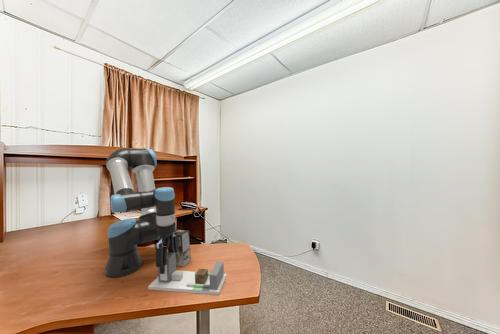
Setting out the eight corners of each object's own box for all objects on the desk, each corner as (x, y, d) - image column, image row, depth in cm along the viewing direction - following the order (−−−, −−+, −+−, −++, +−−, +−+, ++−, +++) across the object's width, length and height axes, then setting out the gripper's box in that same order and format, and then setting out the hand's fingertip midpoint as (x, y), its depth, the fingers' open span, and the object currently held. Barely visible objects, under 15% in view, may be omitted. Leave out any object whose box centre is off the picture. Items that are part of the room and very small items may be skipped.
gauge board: (148, 289, 81) (147, 272, 81) (164, 272, 93) (164, 257, 92) (218, 294, 77) (218, 277, 76) (226, 276, 89) (226, 260, 88)
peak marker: (195, 283, 82) (194, 274, 82) (199, 277, 86) (199, 268, 86) (204, 284, 82) (204, 275, 81) (208, 277, 86) (207, 269, 86)
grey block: (158, 281, 84) (157, 258, 83) (165, 273, 89) (165, 252, 89) (178, 282, 82) (177, 259, 82) (184, 274, 88) (183, 253, 87)
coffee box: (191, 260, 103) (190, 230, 102) (183, 267, 97) (182, 235, 96) (177, 258, 106) (175, 228, 105) (168, 264, 100) (167, 233, 99)
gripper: (161, 232, 75) (164, 290, 76) (184, 217, 93) (185, 264, 95) (143, 231, 76) (146, 288, 77) (169, 216, 94) (171, 263, 96)
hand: (168, 275), depth 86 cm, fingers closed on grey block, 6 cm apart
